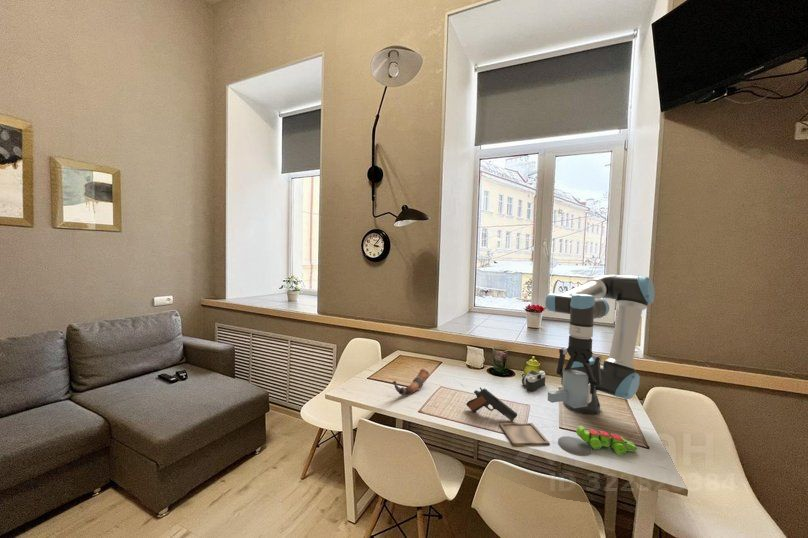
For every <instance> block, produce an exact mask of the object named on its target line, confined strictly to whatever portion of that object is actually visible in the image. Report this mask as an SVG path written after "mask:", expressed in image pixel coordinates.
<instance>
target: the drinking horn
mask: <svg viewBox="0 0 808 538" xmlns="http://www.w3.org/2000/svg"><path fill="white" fill-rule="evenodd" d="M429 376H430V372H429V371H428V370H426V369H424V368H421V369H420V370H419V372H418V374H417V375H416V377H414V378H413V380H412V382H411V383H410V384H409V385H408V386H407V387H404V386H402V387H399V386H398V384H397V381H395V380H394V381H392V385H394V388H395V390H396V392H397V393H398V394H400V395H402V396H403V395H410V394H413V393H415V392H416V391H418V390H420V389H421V388H422V387H423V386H424V384H425V382H426V381H427V380H428V378H429Z"/></svg>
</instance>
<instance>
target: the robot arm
mask: <svg viewBox="0 0 808 538" xmlns="http://www.w3.org/2000/svg"><path fill="white" fill-rule="evenodd" d="M655 291H656V290H655V286H654V283H653V280H652V278H650V277H648V276H643V275H642V276H640V275H627V274H626V275H624V274H605V275H602V276H601V275H600V276H596V277H594V278H591V279H589V280H587V281H586V282H585V284H582V285H580V286H578V287H575V288H572V289H570V290H567V291H565V292H563V293H560V294H559V293H549V294H548V295H547V296H546V298H545V300H544V301H545V303H544V304H545V308H546V310H547V311H550V312H554V313H559V314H566V315H569V330H568V333H569V336H568V345H567V348H564V347H561V348H559V349H558V353H559V358H558V363H557V368H556V374H557V375H559V376H561V385H562V383H563V371H564V370H577V371H581V372H584V373H586V374H587V375H588V391H587V404H588V405H587V406H586V407H580V408H573V407H571V406H569V405H567V404H566V403H564V402H562V403H563V405H564V406H565V407H566V408H567V409H569V410H571V411H575V412H577V413H581V414H586V415H597V414H599V413H600V412H601V404H600V401H599V397H598V392H601V393H605V394H607V395H611V396H614V397H616V398H621V399H623V400H631V399H632V398H633V397H634V396H635V395H636V394H637V391H638V390H639V386H640V380H641V376H640V375H639V373H637V371H636V370H637V369H636V367H635V366H634V364H633V363H634V362H633V361H634V357H635V351H636V346H637V342H638V335H639V329H640V326H641V325H640V323H641V319H642V313H643V311H645V310H646V309H647V308H648V304H653V303H654V301H655V297H656V296H655V295H656V293H655ZM605 299H611V300H615V303H616V304H617V306H618V310H617V316H616V320H615V324H614V325H615V326H614V329H613V336H612V341H611V346H610V351H609V355H608V356H609V357H608V358H606V359H604V361H603V364H602V363H601V361H602V356H600V355H595V354H594V352H593V334H594V320H595V319H601V318H604V317H605V316H607V315H608V314H609V312H610V305H609V303H608V302H607V301H606V300H605ZM567 353H568V355H569V359H568V362H567V363H566V366H565V368H564V364H565V359H566V355H567Z"/></svg>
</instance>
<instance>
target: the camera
mask: <svg viewBox="0 0 808 538" xmlns="http://www.w3.org/2000/svg"><path fill="white" fill-rule="evenodd" d="M546 378H547V377H546V373H545V371H544V370H539V371H535V370H533V369H531V370H530V371H528V372H527V373H525V374H523V375H522V377H521V384H522V385H523V386H525V387H526V391H528V392H535V391H537V390H538V389H540V388H542V387H544V386H545V385H546Z"/></svg>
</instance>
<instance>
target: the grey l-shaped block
mask: <svg viewBox="0 0 808 538" xmlns="http://www.w3.org/2000/svg"><path fill="white" fill-rule="evenodd" d="M562 372H563V383H562V384H561V389H559V390H552V391H551V390H550V391H547V401H548V402H549V403H559V402H562V403H563V402H564V403H566V404H567V405H569V406H571V407H573V408H580V407H586V406H587V405H588V404H587V391H588V375H587V374H586V373H584V372H581V371H577V370H564V369H563V370H562Z"/></svg>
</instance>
